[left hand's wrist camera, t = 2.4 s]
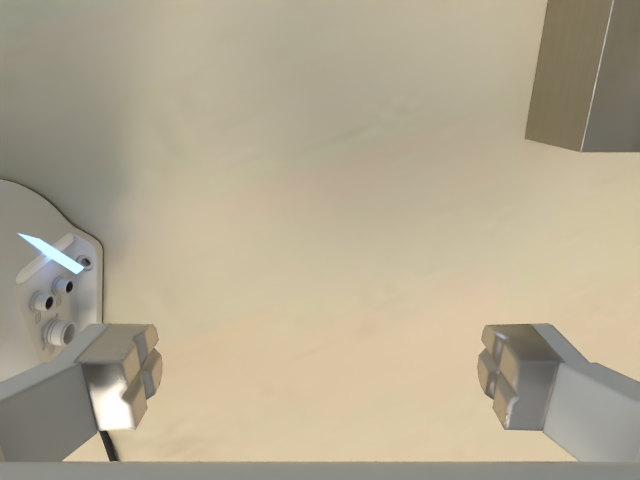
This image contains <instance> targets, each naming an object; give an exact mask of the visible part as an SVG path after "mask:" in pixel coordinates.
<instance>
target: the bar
mask: <svg viewBox="0 0 640 480" xmlns="http://www.w3.org/2000/svg"><path fill="white" fill-rule="evenodd" d="M525 139H527V140H531V141H536V142H540V143H544V144H548V145H552V146H556V147H561V148H565V149H569V150H573V151H577V152H640V0H548V5H547V11H546V16H545V22H544V28H543V34H542V40H541V46H540V52H539V58H538V64H537V70H536V76H535V81H534V87H533V93H532V99H531V105H530V111H529V117H528V123H527V129H526V135H525Z"/></svg>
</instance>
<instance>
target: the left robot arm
mask: <svg viewBox="0 0 640 480" xmlns="http://www.w3.org/2000/svg"><path fill="white" fill-rule="evenodd" d="M85 258H87V259H89V260H90V263H88V262H87V261H86V259H85ZM102 283H103V249H102V246H101V244H100V243H99V242H98V241H97V240H96V239H95V238H93V237H92V236H90V235H89V234H87V233H85V232H83V231H81V230H79V229H78V228H76V227H74V226H73V225H72V224H70V223H69V222H68V221H67V220H66V219H65V218H64V216H63V215H62V214H61V213H60V212H59V211H58V210H57V209H56V208H55V207H54V206H53V205H52V204H51V203H49V202H48V201H47V200H46V199H44V198H43V197H42V196H40V195H39V194H37V193H35V192H34V191H32V190H30V189H28V188H26V187H24V186H22V185H19V184H17V183H14V182H11V181H7V180H3V179H0V480H640V382H638V381H636V380H634V379H632V378H629V377H627V376H625V375H623V374H620V373H618V372H616V371H614V370H612V369H609V368H607V367H605V366H603V365H601V364H598V363H590V362H589V361H588V360H587V359H586V358H585V357H584V356H583V355H582V354H581V353H580V352H579V351H578V350H577V349H576V348H575V347H574V346H573V345H572V344H571V343H570V342H569V341H568V340H567V339H566V338H565V337H564V336H563V335H562V334H561V333H560V332H559V331H558V330H557V329H556V328H555V327H554V326H553V325H551V324H548V323H538V324H507V325H485V328H484V330H483V333H482V339H481V340H482V342H483V343H484V345H485V346H486V348H485V349H484V350H483V351H482V352H481V354H480V355H479V358H478V366H477V367H478V378H479V381H480V385H481V387H482V389H483V391H484V393H485V394H486V395H487V396H489V397H490V398H492V399H493V400H494V402H493V410H494V411H495V413H496V415H497V417H498V419H499V421H500V422H501V424H502V426H503V428H504V430H534V431H543V433H544V434H545V435H546V436H548V437H549V438H550V439H551V440H553V441H554V442H555V443H556V444H558V445H559V446H560V447H562V448H563V449H564V450H565V451H567V452H568V453H569V454H570V455H572V456H573V457H574V458H575V459H577V460H578V461H579V462H117V460H116V457H115V454H114V451H113V448H112V445H111V442H110V439H109V436H108V434H107V432H106V430H136V428H137V426H138V424H139V422H140V421H141V419H142V417H143V415H144V413H145V411H146V410H147V402H146V400H147V399H148V398H150V397H151V396H153V395H154V394H155V393H156V391H157V389H158V387H159V385H160V381H161V377H162V358H161V355H160V354H159V352H158V351H157V350H156V349H155V348H154V346H155V345H156V343H157V342H158V340H159V339H158V334H157V329H156V327H155V326H154V325H153V324H111V323H102ZM97 431H99V432H100V435H101V437H102V440H103V443H104V446H105V449H106V452H107V455H108V457H109V460H110V462H61V461H62V460H63V459H65V458H66V457H67V456H69V455H70V454H71V453H72V452H74V451H75V450H76V449H77V448H79V447H80V446H81V445H82V444H84V443H85V442H86V441H87V440H89V439H90V438H91V437H93V436H94V435H95V434H96V433H97Z"/></svg>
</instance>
